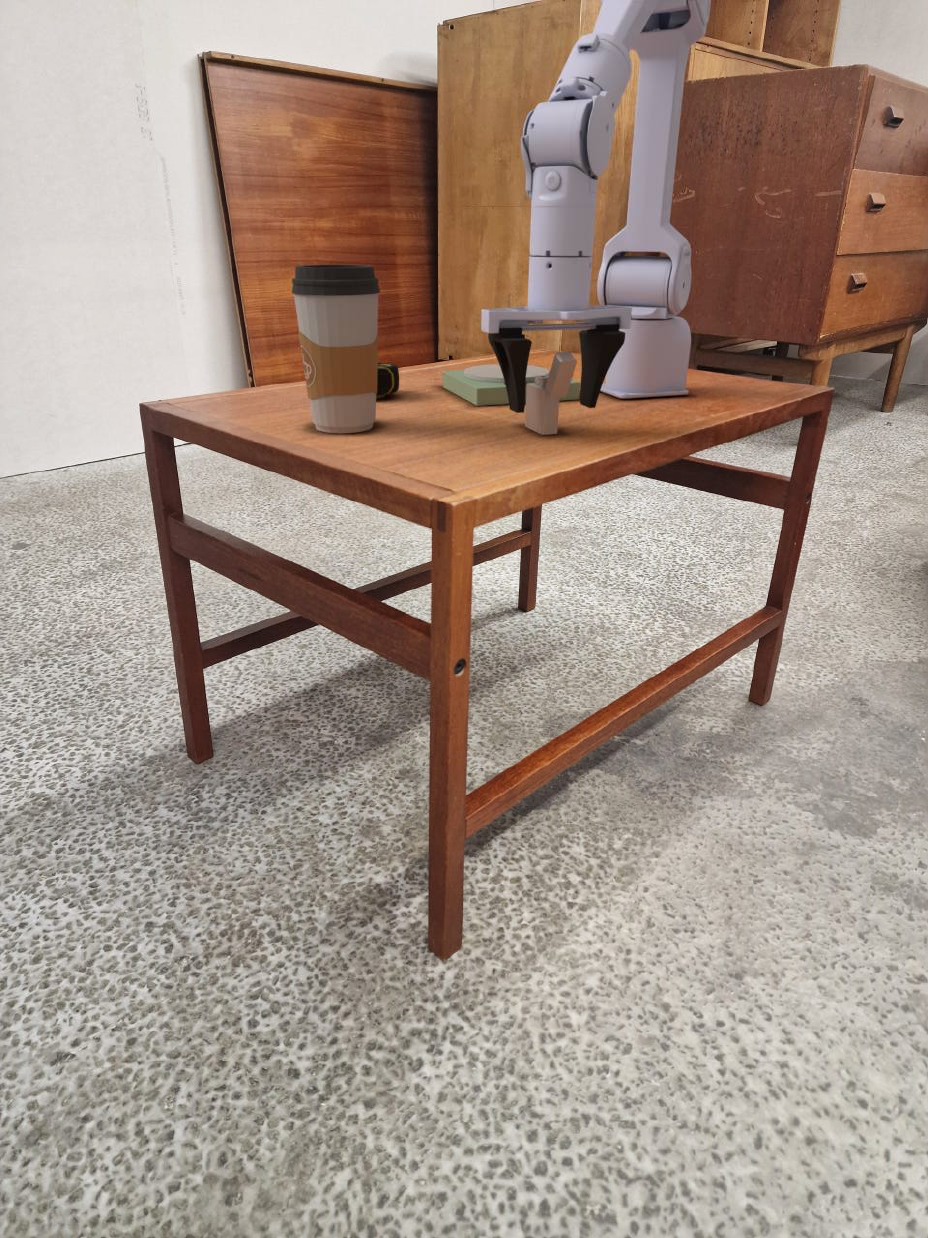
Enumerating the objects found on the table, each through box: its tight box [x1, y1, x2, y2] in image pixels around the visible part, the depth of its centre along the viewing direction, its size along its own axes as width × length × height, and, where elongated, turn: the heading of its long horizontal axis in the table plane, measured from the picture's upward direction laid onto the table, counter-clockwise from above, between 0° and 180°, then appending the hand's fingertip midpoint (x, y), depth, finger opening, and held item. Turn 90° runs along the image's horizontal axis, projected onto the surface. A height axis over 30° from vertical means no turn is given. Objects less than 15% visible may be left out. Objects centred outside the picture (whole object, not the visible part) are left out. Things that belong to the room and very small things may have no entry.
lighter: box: [524, 351, 578, 436], centre depth 78 cm, size 7×2×8 cm, turn 22°
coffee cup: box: [291, 264, 381, 434], centre depth 78 cm, size 8×8×15 cm
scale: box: [442, 363, 581, 407], centre depth 98 cm, size 13×13×3 cm
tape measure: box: [376, 362, 400, 400], centre depth 96 cm, size 7×7×4 cm
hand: (552, 408), depth 79 cm, fingers open, 7 cm apart
